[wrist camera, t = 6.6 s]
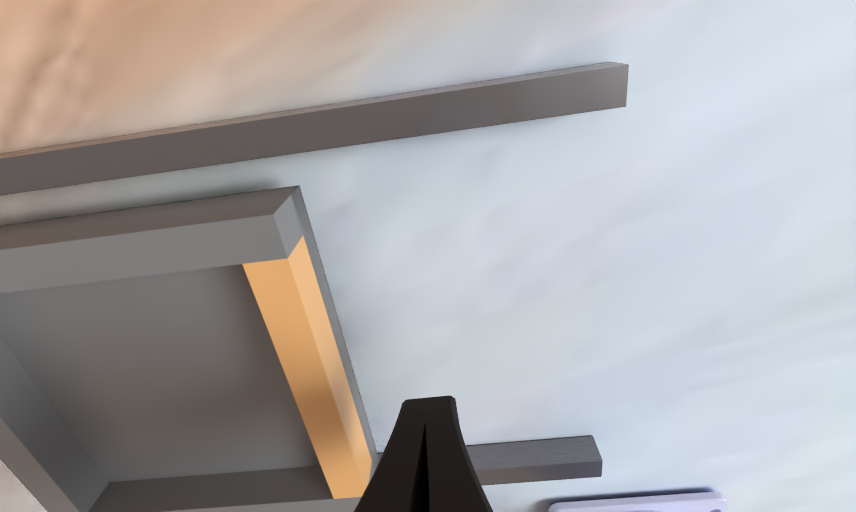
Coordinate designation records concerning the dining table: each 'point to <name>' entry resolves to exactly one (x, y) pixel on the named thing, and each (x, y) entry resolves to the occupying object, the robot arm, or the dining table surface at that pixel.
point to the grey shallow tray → (178, 362)
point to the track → (348, 128)
